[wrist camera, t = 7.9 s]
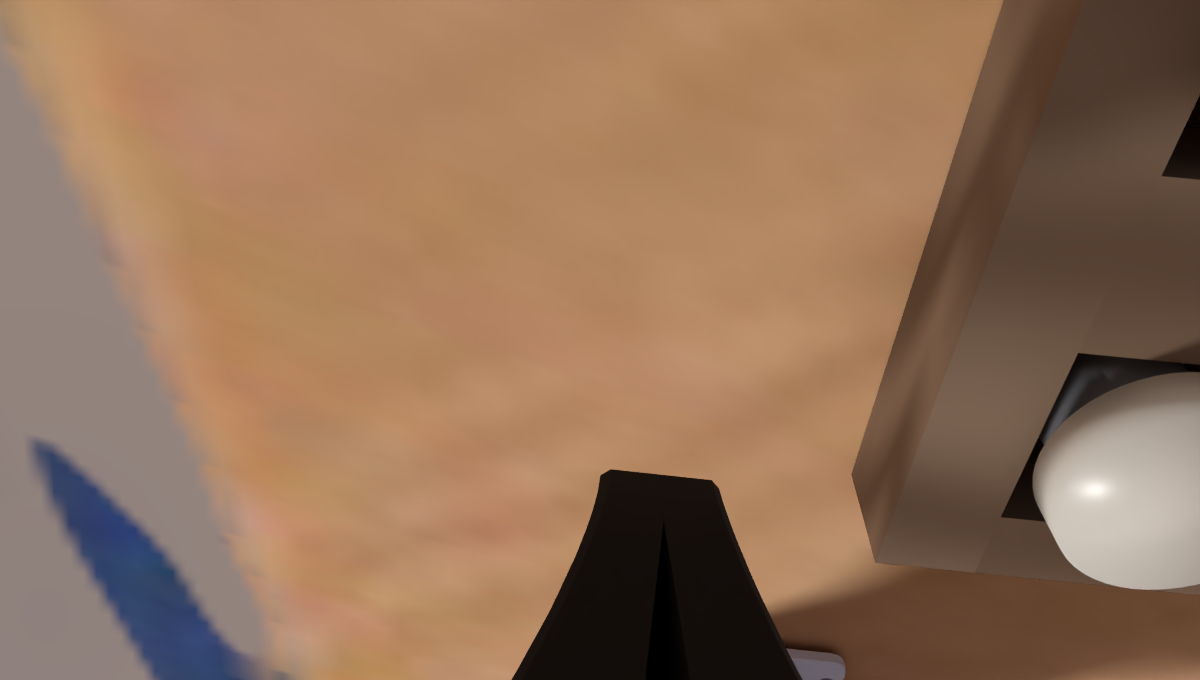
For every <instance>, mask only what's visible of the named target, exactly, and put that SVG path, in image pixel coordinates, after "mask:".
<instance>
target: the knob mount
mask: <svg viewBox="0 0 1200 680" xmlns="http://www.w3.org/2000/svg"><path fill="white" fill-rule="evenodd" d="M1199 95H1200V0H1004V2H1003V5H1002V8H1001V11H1000V14H999V17H998V20H997V23H996V27H995V30H994V33H993V36H992V39H991V42H990V45H989V48H988V51H987V55H986V58H985V61H984V64H983V67H982V70H981V73H980V76H979V80H978V83H977V86H976V89H975V92H974V95H973V98H972V101H971V104H970V108H969V111H968V114H967V117H966V120H965V123H964V126H963V129H962V132H961V136H960V139H959V142H958V145H957V148H956V151H955V154H954V157H953V160H952V164H951V167H950V170H949V173H948V176H947V179H946V182H945V185H944V188H943V192H942V195H941V198H940V201H939V204H938V207H937V210H936V213H935V217H934V220H933V223H932V226H931V229H930V232H929V235H928V238H927V241H926V245H925V248H924V251H923V254H922V257H921V260H920V263H919V266H918V269H917V273H916V276H915V279H914V282H913V285H912V288H911V291H910V294H909V297H908V301H907V304H906V307H905V310H904V313H903V316H902V319H901V322H900V326H899V329H898V332H897V335H896V338H895V341H894V344H893V347H892V350H891V354H890V357H889V360H888V363H887V366H886V369H885V372H884V375H883V378H882V382H881V385H880V388H879V391H878V394H877V397H876V400H875V403H874V406H873V410H872V413H871V416H870V419H869V422H868V425H867V428H866V431H865V434H864V438H863V441H862V444H861V447H860V450H859V453H858V456H857V459H856V463H855V466H854V469H853V472H852V478H853V482H854V485H855V489H856V493H857V497H858V500H859V504H860V508H861V511H862V515H863V519H864V522H865V526H866V530H867V533H868V537H869V541H870V544H871V548H872V552H873V556H874V559H875V563H884V564H893V565H903V566H913V567H923V568H933V569H943V570H953V571H963V572H973V573H983V574H993V575H1002V576H1012V577H1022V578H1032V579H1042V580H1052V581H1062V582H1072V583H1082V584H1092V585H1102V586H1111V587H1118V586H1114V585H1110V584H1106V583H1103V582H1101V581H1098V580H1095V579H1093V578H1091V577H1089V576H1087V575H1085V574H1084V573H1082V572H1081V571H1079V570H1078V569H1077V568H1075V567H1074V566H1073V565H1072V564H1071V563H1070V562H1069V561H1068V560H1067V559H1066V557H1065V556H1064V554H1063V553H1062V551H1061V550H1060V548H1059V546H1058V544H1057V542H1056V540H1055V538H1054V536H1053V534H1052V533H1051V531H1050V529H1049V527H1048V525H1047V523H1046V521H1045V519H1044V517H1043V515H1042V513H1041V511H1040V509H1039V507H1038V505H1037V503H1036V500H1035V498H1034V493H1033V487H1032V485H1033V472H1034V467H1035V464H1036V461H1037V459H1038V456H1039V454H1040V452H1041V450H1042V448H1043V447H1044V445H1043V443H1042V441H1041V439H1040V438H1038V437H1039V435H1040V433H1041V431H1042V428H1043V426H1044V424H1045V422H1046V420H1047V418H1048V416H1049V414H1050V412H1051V409H1052V407H1053V405H1054V403H1055V401H1056V399H1057V397H1058V395H1059V392H1060V390H1061V388H1062V386H1063V384H1064V382H1065V380H1066V378H1067V375H1068V373H1069V371H1070V369H1071V367H1072V365H1073V363H1074V361H1075V358H1076V356H1077V354H1078V353H1084V354H1094V355H1104V356H1115V357H1125V358H1135V359H1146V360H1156V361H1166V362H1177V363H1185V364H1184V366H1185V367H1186V369H1187V370H1188V371H1189V372H1200V128H1191V127H1185V125H1186V123H1187V121H1188V119H1189V117H1190V114H1191V112H1192V110H1193V108H1194V106H1195V104H1196V102H1197V100H1198V98H1199ZM1121 588H1124V587H1121ZM1141 590H1143V589H1141ZM1151 591H1161V592H1171V593H1181V594H1191V595H1200V584H1197V585H1192V586H1186V587H1181V588H1172V589H1159V590H1151Z"/></svg>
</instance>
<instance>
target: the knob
mask: <svg viewBox="0 0 1200 680" xmlns="http://www.w3.org/2000/svg"><path fill="white" fill-rule="evenodd" d="M1039 438H1040V439H1041V441H1042V443H1043V445H1044V447H1043V448H1042V450H1041V452H1040V454H1039V456H1038V459H1037V461H1036V464H1035V467H1034V472H1033V485H1032V487H1033V493H1034V498H1035V500H1036V503H1037V505H1038V507H1039V509H1040V511H1041V513H1042V515H1043V517H1044V519H1045V521H1046V523H1047V525H1048V527H1049V529H1050V531H1051V533H1052V534H1053V536H1054V538H1055V540H1056V542H1057V544H1058V546H1059V548H1060V550H1061V551H1062V553H1063V554H1064V556H1065V557H1066V559H1067V560H1068V561H1069V562H1070V563H1071V564H1072V565H1073V566H1074V567H1075V568H1077V569H1078V570H1079V571H1081V572H1082V573H1084V574H1085V575H1087V576H1089V577H1091V578H1093V579H1095V580H1098V581H1101V582H1103V583H1106V584H1110V585H1114V586H1118V587H1124V588H1130V589H1143V590H1159V589H1172V588H1181V587H1186V586H1192V585H1197V584H1200V372H1189V371H1188V370H1187V369H1186V367H1185V366H1184V365H1183V364H1182V363H1177V362H1166V361H1156V360H1146V359H1135V358H1125V357H1115V356H1104V355H1094V354H1084V353H1078V354H1077V356H1076V358H1075V361H1074V363H1073V365H1072V367H1071V369H1070V371H1069V373H1068V375H1067V378H1066V380H1065V382H1064V384H1063V386H1062V388H1061V390H1060V392H1059V395H1058V397H1057V399H1056V401H1055V403H1054V405H1053V407H1052V409H1051V412H1050V414H1049V416H1048V418H1047V420H1046V422H1045V424H1044V426H1043V428H1042V431H1041V433H1040V435H1039Z"/></svg>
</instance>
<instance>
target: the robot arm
mask: <svg viewBox="0 0 1200 680" xmlns="http://www.w3.org/2000/svg"><path fill="white" fill-rule="evenodd" d="M845 673H846V669H845V664H844V660H843V659H842V657H840V656H838V655H836V654H833V653H826V652H816V651H806V650H796V649H787V648H786V647H785V645H784V643H783V641H782V639H781V637H780V635H779V633H778V631H777V629H776V627H775V625H774V623H773V620H772V618H771V616H770V614H769V612H768V610H767V608H766V606H765V604H764V602H763V600H762V598H761V596H760V594H759V591H758V589H757V587H756V585H755V582H754V580H753V578H752V576H751V573H750V571H749V569H748V566H747V564H746V562H745V559H744V557H743V554H742V552H741V550H740V547H739V545H738V542H737V540H736V537H735V535H734V532H733V529H732V527H731V524H730V521H729V518H728V516H727V513H726V510H725V507H724V504H723V501H722V498H721V494H720V491H719V488H718V487H717V486H716V485H715V484H714V483H713V481H712V480H704V479H695V478H685V477H676V476H667V475H658V474H648V473H639V472H630V471H620V470H609V471H607V472H606V473H604V474H602V475H601V476H600V482H599V489H598V493H597V497H596V501H595V505H594V508H593V511H592V515H591V518H590V520H589V523H588V526H587V529H586V532H585V534H584V537H583V539H582V542H581V544H580V547H579V549H578V552H577V554H576V557H575V559H574V561H573V563H572V565H571V567H570V569H569V572H568V574H567V576H566V578H565V580H564V582H563V584H562V587H561V589H560V591H559V593H558V595H557V597H556V599H555V602H554V604H553V606H552V608H551V610H550V612H549V613H548V615H547V617H546V619H545V621H544V623H543V625H542V626H541V628H540V630H539V632H538V634H537V635H536V637H535V639H534V641H533V643H532V644H531V646H530V648H529V650H528V652H527V653H526V655H525V657H524V659H523V661H522V662H521V664H520V666H519V668H518V670H517V671H516V673H515V675H514V677H513V678H512V680H843V679H844V676H845Z"/></svg>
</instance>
